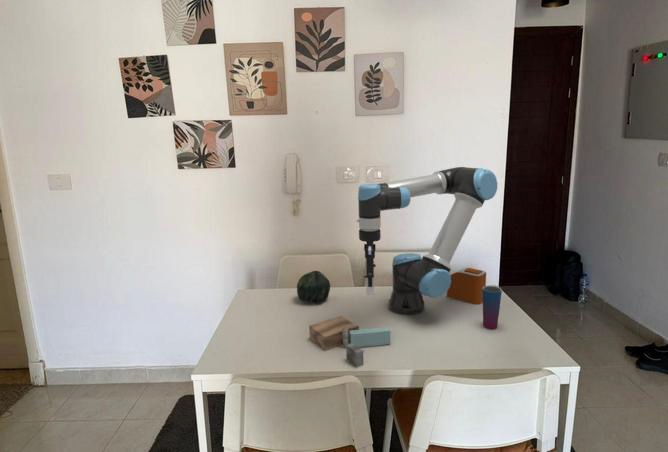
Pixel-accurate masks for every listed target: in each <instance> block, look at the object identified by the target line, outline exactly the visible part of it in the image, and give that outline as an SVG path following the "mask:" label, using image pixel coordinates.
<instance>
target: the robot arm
mask: <svg viewBox="0 0 668 452" xmlns="http://www.w3.org/2000/svg"><path fill="white" fill-rule="evenodd" d="M497 191H498V181H497V175H495V172H493V171H491V169H487V168H482V167H479V168H477V167H465V166H456V167H451V168H447V169H442V170H436V171H434V172H433V173H432V174H428V175H422V176H417V177H416V176H415V177H410V178H403V179H399V180H392V181H388V182H383V183H382V182H381V183H377V184H376V183H365V184H361V185H359V186H358V194H357V199H358V201H357V202H358V219H357V220H356V222H357V223H358V228H359V230H358V239H359V240H360V241H361V242H366V243H364V246H363V247H364V248H363V251H364V257H365V259H366V260H365V262H366V263H365V265H366V266H365V267H366V269H365V270H366V275H364V278H365V281H366V282H365V284H366V286H365V289H366V291H365V292H366V293H365V294H366V296H374V295H375V268H376V267H377V265H376V264H375V262H374V261H375V260H374V259H375V257H376V249H377V248H376V243H374V242H379V241H381V239H382V237H381V235H382V233H381V227H382V226H381V225H382V223H381V211H390V210H401V209H404V208H407V207H408V206H409V205H410V204H411V198H416V197H420V196H425V195H431V194H436V195H443V194H444V195H445V194H448V195H453V197H454V198H455V200H454V203H453V205H452V207H451V208H450V210H449V212H448V215H447V216H446V219H445V221H444V222H443V224H442V226H441V228H440V230H439V232H438V233H437V236H436V237H435V240H434V243H433V244H432V246H431V248H430V250H429V252H428V253H427V254H423V256H421V254H419V253H402V254H401V253H400V254H396V255H395V256H393V258H392V264H391V267H392V290H391V294H390V298H389V300H388V309H389V310H390V312H391V311H392V312H393V313H396V314H398V315H406V316H407V315H417V314H421V313H422V312H424V311H425V307H426V303H425V300H424V296H425V297H429V298H432V299H435V298H436V299H437V298H440V297H441V296H443V295H446V294H447V290H448V289H449V287H450V285H451V280H450V279H451V276H450V275H451V274H450V272H451V270H452V268H451V265H450V263H451V260H452V259H453V257H454V255H455V252H456V251H457V249H458V247H459V245H460V243H461V240H462V239H463V237H464V234H465V233H466V230H467V228H468V226H469V225H470V222H471V220H472V219H473V217H474V215H475V212H476V211H477V209H480V208H482V207H483V205H484V204H485V201H489V200H491V199H493V198H494V197H495V195H496V194H497Z"/></svg>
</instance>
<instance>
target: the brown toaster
mask: <svg viewBox="0 0 668 452" xmlns="http://www.w3.org/2000/svg"><path fill="white" fill-rule="evenodd" d="M450 276H451V279H450V280H451V285H450V287H449V289H448V290H447V292H446V298H450V299H451V300H452V299H453V300H456V301H461V302H464V303H468V304H472V305H481V304H483V294H482V288H483V287H484V286H487V271H485V270H482V269H476V268H472V267H464V268H461V269H458V270H457V271H454V272H453V273H451V274H450Z"/></svg>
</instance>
